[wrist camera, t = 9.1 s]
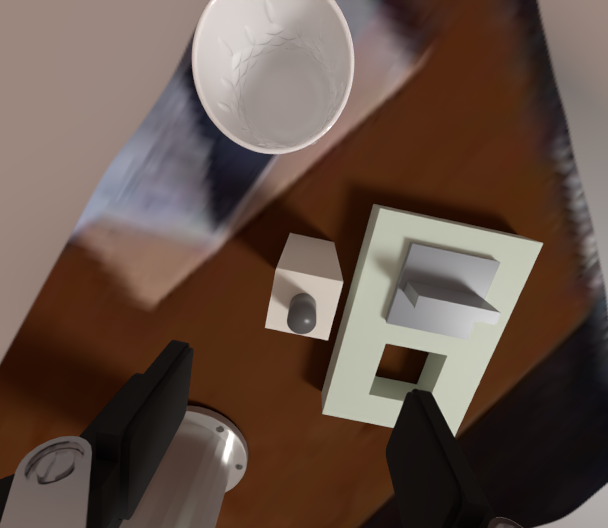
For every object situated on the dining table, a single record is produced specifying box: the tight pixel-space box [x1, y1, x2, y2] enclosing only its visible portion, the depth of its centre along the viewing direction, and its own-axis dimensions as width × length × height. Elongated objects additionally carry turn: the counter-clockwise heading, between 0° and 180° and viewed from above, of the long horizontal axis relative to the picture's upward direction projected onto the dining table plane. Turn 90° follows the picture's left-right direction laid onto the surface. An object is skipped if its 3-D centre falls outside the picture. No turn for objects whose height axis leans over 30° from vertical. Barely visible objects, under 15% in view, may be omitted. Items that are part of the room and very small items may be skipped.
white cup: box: [192, 0, 354, 154], centre depth 20 cm, size 8×8×10 cm
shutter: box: [385, 242, 501, 340], centre depth 24 cm, size 7×7×4 cm
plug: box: [265, 233, 343, 340], centre depth 22 cm, size 4×4×12 cm
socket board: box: [322, 204, 543, 437], centre depth 28 cm, size 13×20×3 cm, turn 168°
